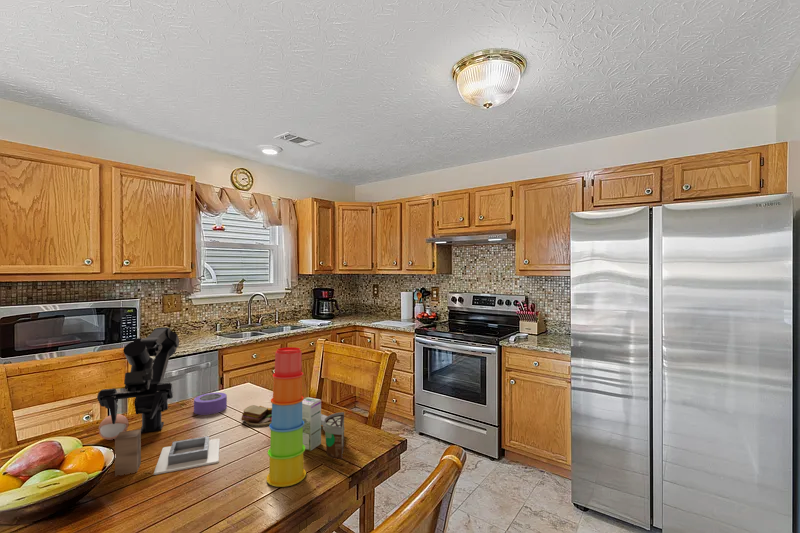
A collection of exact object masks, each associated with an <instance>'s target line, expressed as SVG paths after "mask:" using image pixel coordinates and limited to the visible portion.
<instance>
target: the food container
mask: <svg viewBox="0 0 800 533" xmlns="http://www.w3.org/2000/svg"><path fill="white" fill-rule="evenodd" d="M327 416H328V417H326V418H325V421H324V423H323V425H322V430H323V431H324V436H325V449H326V450H325V451H326V455H327V457H329V458H330V459H334V460H343V455H342V454H343V453H344V448H343V447H345V430H344V429H345V412H342V411H341V412H335V413H332V414H330V415H327Z"/></svg>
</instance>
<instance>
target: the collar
mask: <svg viewBox="0 0 800 533" xmlns="http://www.w3.org/2000/svg"><path fill="white" fill-rule="evenodd" d="M209 440H210V435H208V436H207V435H206V436H200V437H194V438H189V439H183V440H182V439H181V440H175V441H172V444H171V449H170V452H169V455H168V465H174V464H179V463H185V462H190V461H196V460H201V459H207V458H208V450H209ZM201 446H204V449H201V450H195V451H190V452H184V453H178V454H175V453H176V451H178V450H183V449H189V448H195V447H201Z"/></svg>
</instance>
